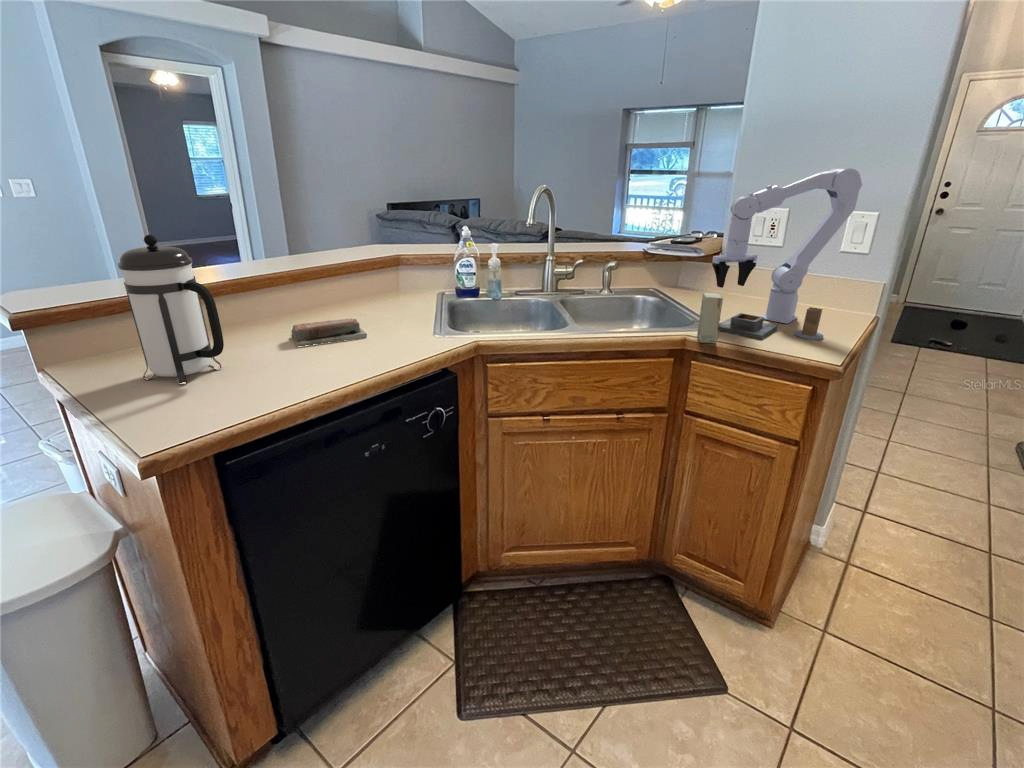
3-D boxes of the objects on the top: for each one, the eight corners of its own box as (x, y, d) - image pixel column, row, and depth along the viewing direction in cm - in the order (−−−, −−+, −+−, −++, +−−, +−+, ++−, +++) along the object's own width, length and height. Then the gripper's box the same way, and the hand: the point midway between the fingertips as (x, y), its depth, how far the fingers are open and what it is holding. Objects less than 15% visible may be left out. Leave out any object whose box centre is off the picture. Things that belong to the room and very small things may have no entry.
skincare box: (716, 344, 139) (724, 298, 134) (699, 343, 140) (706, 297, 135) (713, 336, 145) (720, 292, 140) (696, 335, 146) (702, 291, 141)
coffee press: (136, 393, 107) (92, 242, 96) (150, 367, 121) (113, 231, 109) (232, 381, 114) (201, 237, 102) (235, 357, 127) (208, 228, 115)
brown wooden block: (804, 331, 148) (810, 307, 145) (816, 334, 146) (822, 309, 143) (801, 334, 146) (807, 309, 143) (813, 336, 144) (819, 311, 141)
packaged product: (294, 331, 132) (288, 321, 140) (297, 349, 134) (291, 339, 142) (366, 321, 141) (356, 313, 148) (368, 339, 142) (358, 329, 150)
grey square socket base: (732, 320, 160) (734, 309, 158) (777, 329, 152) (779, 317, 150) (713, 329, 151) (715, 317, 150) (760, 339, 143) (763, 326, 141)
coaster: (799, 330, 150) (799, 328, 150) (826, 336, 146) (826, 333, 146) (791, 336, 146) (791, 334, 145) (818, 341, 141) (819, 339, 141)
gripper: (726, 243, 150) (719, 290, 155) (768, 241, 154) (759, 287, 159) (710, 239, 156) (704, 285, 161) (750, 238, 160) (742, 282, 165)
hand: (730, 286), depth 161 cm, fingers open, 7 cm apart
